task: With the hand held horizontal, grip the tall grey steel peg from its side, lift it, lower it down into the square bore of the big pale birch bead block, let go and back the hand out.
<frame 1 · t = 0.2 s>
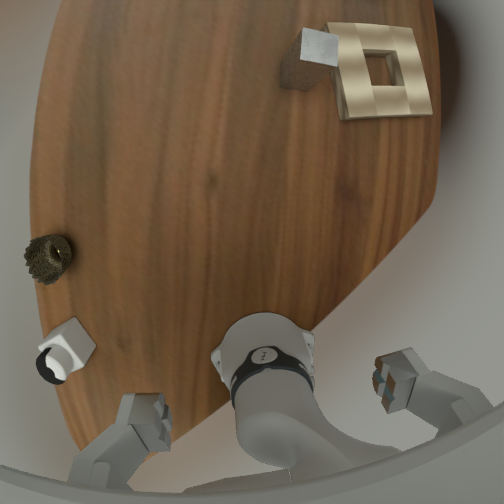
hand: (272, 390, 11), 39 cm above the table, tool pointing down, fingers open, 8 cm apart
medicine bottle: (74, 337, 52), on the table
bead block: (373, 73, 43), on the table
cup: (64, 247, 47), on the table
steel peg: (294, 76, 43), on the table
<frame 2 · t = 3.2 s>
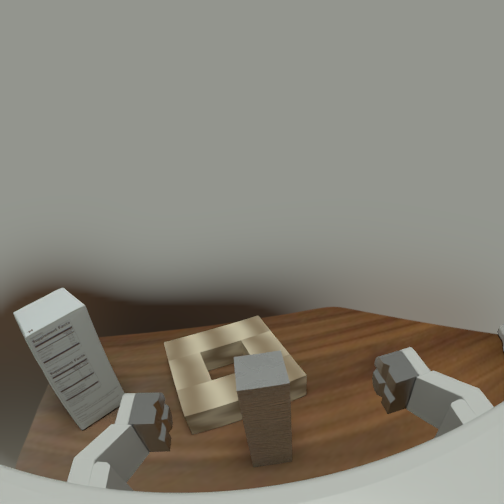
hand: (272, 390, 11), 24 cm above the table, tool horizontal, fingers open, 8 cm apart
bead block: (231, 378, 44), on the table
supplement box: (92, 401, 40), on the table
steel peg: (270, 449, 31), on the table
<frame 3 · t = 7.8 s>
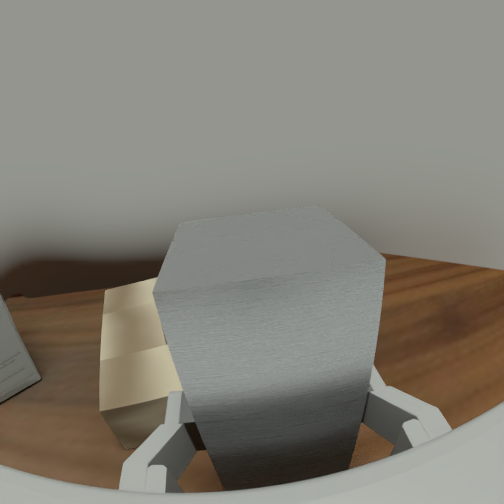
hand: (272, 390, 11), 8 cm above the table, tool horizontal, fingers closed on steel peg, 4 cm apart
bead block: (209, 350, 25), on the table
steel peg: (283, 490, 13), on the table, touching gripper
when the fingers open (9 cm above the table, at t = 13.8 s): steel peg drops 2 cm, resting in bead block.
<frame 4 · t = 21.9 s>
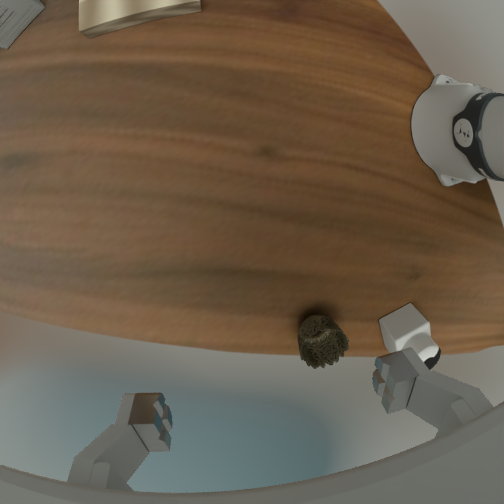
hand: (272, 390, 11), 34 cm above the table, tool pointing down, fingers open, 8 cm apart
medicine bottle: (396, 323, 54), on the table
cup: (311, 320, 51), on the table
supplement box: (16, 15, 27), on the table
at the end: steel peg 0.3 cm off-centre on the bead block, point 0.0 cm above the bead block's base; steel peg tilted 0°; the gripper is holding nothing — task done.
